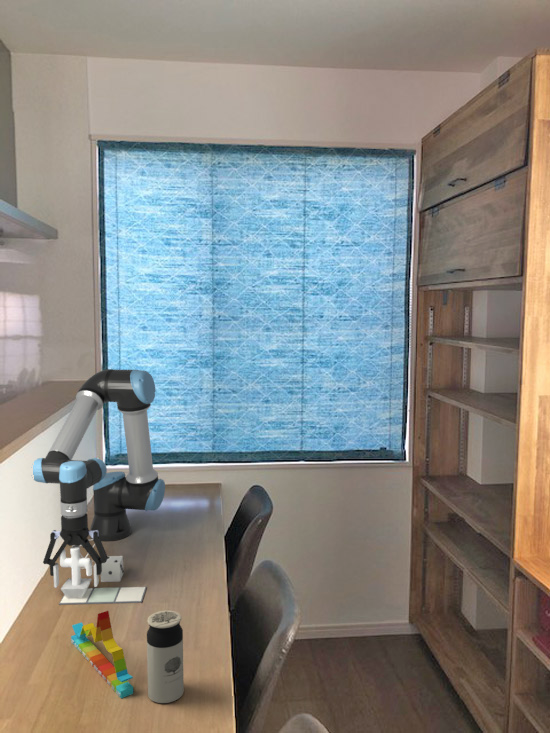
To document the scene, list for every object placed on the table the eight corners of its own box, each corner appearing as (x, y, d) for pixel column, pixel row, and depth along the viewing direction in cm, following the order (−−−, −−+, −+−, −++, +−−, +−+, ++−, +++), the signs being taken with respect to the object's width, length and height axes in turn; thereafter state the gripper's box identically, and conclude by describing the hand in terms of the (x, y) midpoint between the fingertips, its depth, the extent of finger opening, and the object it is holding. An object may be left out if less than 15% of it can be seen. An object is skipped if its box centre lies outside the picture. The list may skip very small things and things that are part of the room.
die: (104, 574, 212) (104, 555, 211) (124, 573, 212) (124, 554, 211) (100, 582, 205) (99, 563, 205) (121, 582, 206) (120, 562, 205)
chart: (70, 643, 170) (68, 588, 168) (82, 639, 172) (80, 584, 170) (120, 700, 146) (118, 636, 144) (133, 694, 148) (131, 631, 146)
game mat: (67, 589, 200) (67, 588, 200) (146, 587, 202) (146, 586, 202) (58, 604, 190) (58, 603, 190) (141, 602, 192) (141, 601, 192)
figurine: (89, 600, 192) (87, 551, 190) (57, 600, 192) (55, 551, 190) (95, 589, 199) (94, 542, 198) (65, 589, 199) (63, 542, 198)
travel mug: (144, 688, 150) (142, 613, 148) (178, 680, 153) (177, 606, 151) (152, 708, 143) (151, 629, 141) (187, 699, 146) (186, 622, 144)
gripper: (29, 519, 189) (32, 591, 191) (111, 517, 190) (113, 589, 192) (37, 510, 196) (40, 580, 198) (116, 509, 197) (118, 578, 200)
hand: (76, 585), depth 195 cm, fingers open, 11 cm apart
